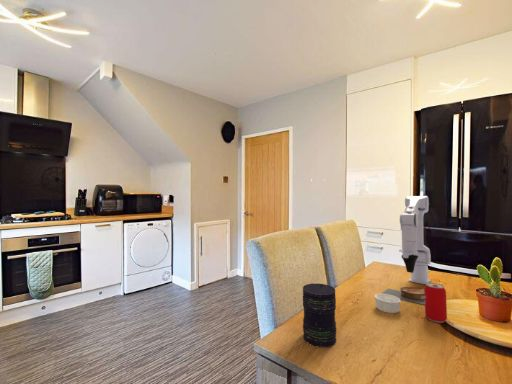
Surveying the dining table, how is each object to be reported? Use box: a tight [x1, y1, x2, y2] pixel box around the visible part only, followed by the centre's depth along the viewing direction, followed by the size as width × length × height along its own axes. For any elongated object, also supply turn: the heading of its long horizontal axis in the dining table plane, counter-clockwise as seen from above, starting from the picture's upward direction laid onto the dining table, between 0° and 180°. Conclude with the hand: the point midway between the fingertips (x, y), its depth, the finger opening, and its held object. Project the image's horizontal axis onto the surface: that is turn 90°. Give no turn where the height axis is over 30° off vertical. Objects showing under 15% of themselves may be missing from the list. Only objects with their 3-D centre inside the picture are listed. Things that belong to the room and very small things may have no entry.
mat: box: [380, 288, 425, 306], centre depth 109 cm, size 10×20×1 cm, turn 46°
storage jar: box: [302, 283, 337, 349], centre depth 77 cm, size 10×10×15 cm
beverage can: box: [423, 282, 448, 324], centre depth 88 cm, size 6×6×12 cm
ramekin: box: [374, 293, 402, 314], centre depth 97 cm, size 9×9×4 cm
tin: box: [400, 286, 425, 300], centre depth 109 cm, size 15×3×8 cm
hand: (410, 272), depth 111 cm, fingers closed
